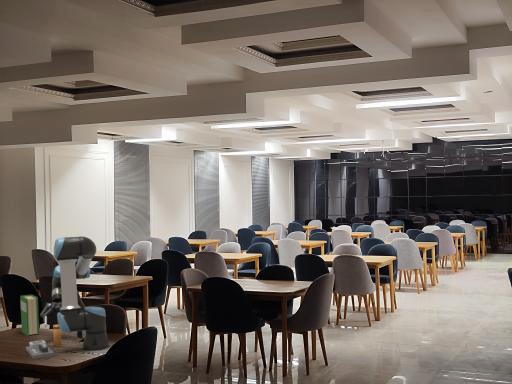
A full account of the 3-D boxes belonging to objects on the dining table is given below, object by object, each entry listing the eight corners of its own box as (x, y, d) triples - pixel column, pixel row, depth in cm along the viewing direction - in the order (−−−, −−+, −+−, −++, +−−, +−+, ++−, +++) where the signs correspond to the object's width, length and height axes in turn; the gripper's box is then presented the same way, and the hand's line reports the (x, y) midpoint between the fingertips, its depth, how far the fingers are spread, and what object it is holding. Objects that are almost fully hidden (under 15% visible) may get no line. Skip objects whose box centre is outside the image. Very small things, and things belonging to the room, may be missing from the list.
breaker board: (25, 350, 383) (25, 340, 384) (45, 347, 389) (45, 337, 389) (33, 359, 360) (32, 348, 361) (54, 356, 366) (53, 345, 366)
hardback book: (39, 334, 428) (37, 297, 429) (27, 336, 425) (25, 298, 425) (33, 330, 444) (31, 294, 444) (21, 331, 440) (20, 295, 440)
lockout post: (63, 345, 393) (62, 324, 393) (56, 346, 390) (55, 326, 390) (59, 344, 396) (58, 324, 396) (52, 345, 393) (51, 325, 393)
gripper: (79, 299, 420) (79, 327, 405) (37, 302, 414) (36, 330, 399) (78, 291, 414) (78, 319, 400) (36, 294, 409) (35, 323, 394)
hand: (57, 325), depth 399 cm, fingers open, 13 cm apart
